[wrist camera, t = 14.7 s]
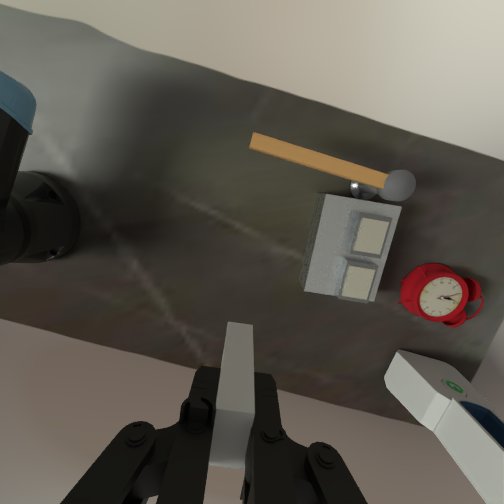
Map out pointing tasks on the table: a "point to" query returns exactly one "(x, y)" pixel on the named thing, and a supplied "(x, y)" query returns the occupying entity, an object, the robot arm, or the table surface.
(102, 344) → the table surface
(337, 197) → the grey boxy piece
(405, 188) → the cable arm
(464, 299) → the alarm clock
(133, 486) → the robot arm
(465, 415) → the electronic device
